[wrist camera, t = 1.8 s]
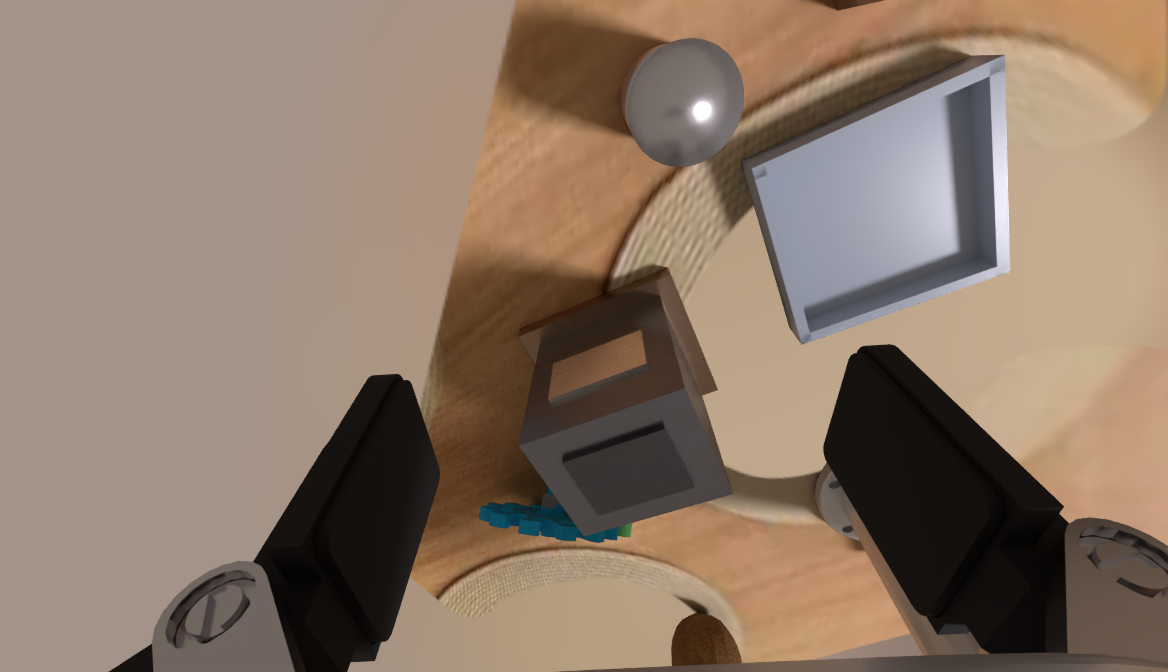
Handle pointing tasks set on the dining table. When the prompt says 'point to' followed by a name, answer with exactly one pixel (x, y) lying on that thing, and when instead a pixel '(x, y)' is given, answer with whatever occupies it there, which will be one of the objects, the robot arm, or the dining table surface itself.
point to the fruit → (703, 642)
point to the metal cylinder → (682, 101)
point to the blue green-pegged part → (544, 520)
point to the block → (851, 3)
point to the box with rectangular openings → (622, 408)
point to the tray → (889, 200)
